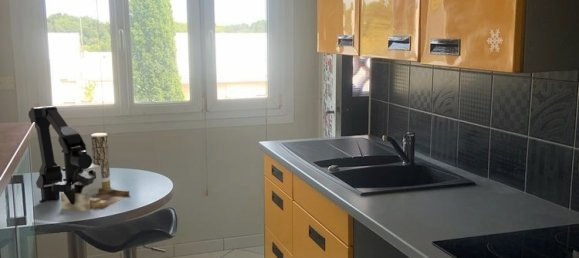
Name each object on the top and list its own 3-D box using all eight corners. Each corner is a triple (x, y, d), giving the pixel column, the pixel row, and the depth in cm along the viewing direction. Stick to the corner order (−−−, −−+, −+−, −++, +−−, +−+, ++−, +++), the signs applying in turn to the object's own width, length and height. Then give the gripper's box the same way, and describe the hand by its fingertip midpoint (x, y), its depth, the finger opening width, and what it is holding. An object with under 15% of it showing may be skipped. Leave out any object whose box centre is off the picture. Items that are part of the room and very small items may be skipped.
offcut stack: (74, 205, 238) (73, 198, 238) (80, 202, 242) (79, 195, 242) (102, 208, 235) (101, 201, 234) (108, 205, 239) (107, 198, 238)
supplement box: (103, 193, 257) (101, 165, 255) (87, 197, 252) (85, 168, 250) (94, 190, 262) (92, 163, 260) (78, 194, 257) (76, 166, 255)
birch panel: (61, 209, 235) (60, 192, 234) (64, 208, 236) (63, 191, 235) (87, 212, 231) (86, 195, 230) (90, 211, 233) (89, 194, 232)
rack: (72, 207, 238) (72, 201, 238) (101, 194, 257) (100, 188, 256) (102, 210, 234) (102, 204, 234) (129, 197, 253) (129, 190, 252)
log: (105, 191, 261) (102, 136, 256) (91, 191, 262) (88, 135, 257) (113, 187, 267) (110, 133, 263) (99, 186, 268) (96, 132, 264)
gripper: (74, 172, 220) (77, 212, 222) (104, 160, 237) (106, 198, 240) (49, 170, 223) (52, 209, 226) (80, 159, 240) (83, 196, 243)
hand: (75, 203), depth 233 cm, fingers open, 3 cm apart
